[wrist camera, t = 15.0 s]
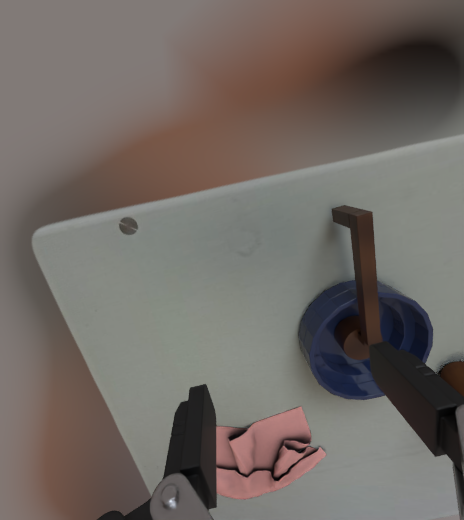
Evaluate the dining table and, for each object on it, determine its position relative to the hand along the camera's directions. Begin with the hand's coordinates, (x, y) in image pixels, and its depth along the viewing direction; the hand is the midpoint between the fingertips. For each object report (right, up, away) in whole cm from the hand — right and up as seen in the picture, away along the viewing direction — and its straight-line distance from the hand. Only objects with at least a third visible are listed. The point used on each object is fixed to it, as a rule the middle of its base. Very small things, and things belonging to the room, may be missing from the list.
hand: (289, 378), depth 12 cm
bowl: (+15, -4, +24) cm, 28 cm away
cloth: (+3, -27, +30) cm, 41 cm away
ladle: (+12, +3, +21) cm, 24 cm away
